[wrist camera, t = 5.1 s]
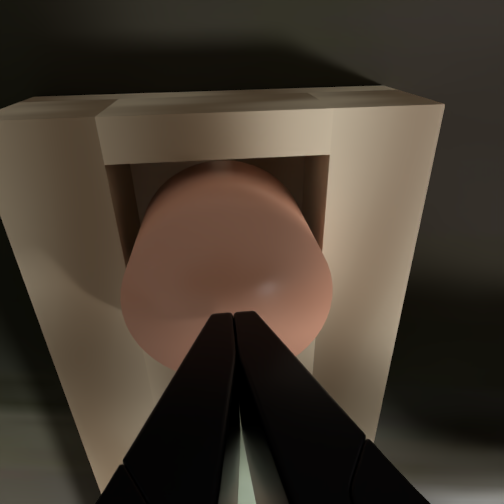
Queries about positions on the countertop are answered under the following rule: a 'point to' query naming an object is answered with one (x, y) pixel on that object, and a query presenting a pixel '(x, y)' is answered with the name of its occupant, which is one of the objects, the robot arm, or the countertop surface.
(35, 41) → the countertop surface
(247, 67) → the countertop surface
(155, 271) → the terracotta button
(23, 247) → the button panel
